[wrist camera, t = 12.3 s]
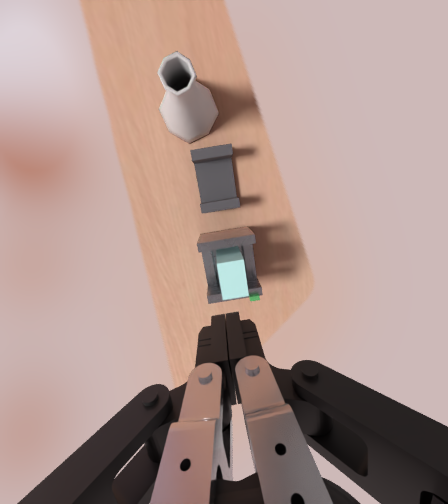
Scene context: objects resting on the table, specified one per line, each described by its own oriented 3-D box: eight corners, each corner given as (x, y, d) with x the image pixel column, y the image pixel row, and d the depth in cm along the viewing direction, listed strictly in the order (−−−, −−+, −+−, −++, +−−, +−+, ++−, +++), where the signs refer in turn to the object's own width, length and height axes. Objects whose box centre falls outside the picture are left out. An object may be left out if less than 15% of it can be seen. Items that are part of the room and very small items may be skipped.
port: (200, 234, 34) (196, 244, 27) (247, 226, 34) (255, 235, 27) (210, 286, 36) (208, 308, 29) (254, 278, 36) (263, 299, 29)
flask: (228, 114, 30) (235, 77, 21) (189, 154, 31) (177, 137, 22) (189, 65, 29) (176, 1, 19) (149, 109, 30) (117, 69, 20)
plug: (215, 247, 33) (216, 263, 25) (237, 243, 33) (244, 259, 25) (220, 275, 34) (222, 300, 26) (241, 272, 34) (249, 295, 26)
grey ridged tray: (192, 153, 31) (189, 148, 28) (229, 147, 31) (231, 141, 28) (203, 212, 33) (202, 215, 30) (237, 207, 33) (240, 208, 30)
